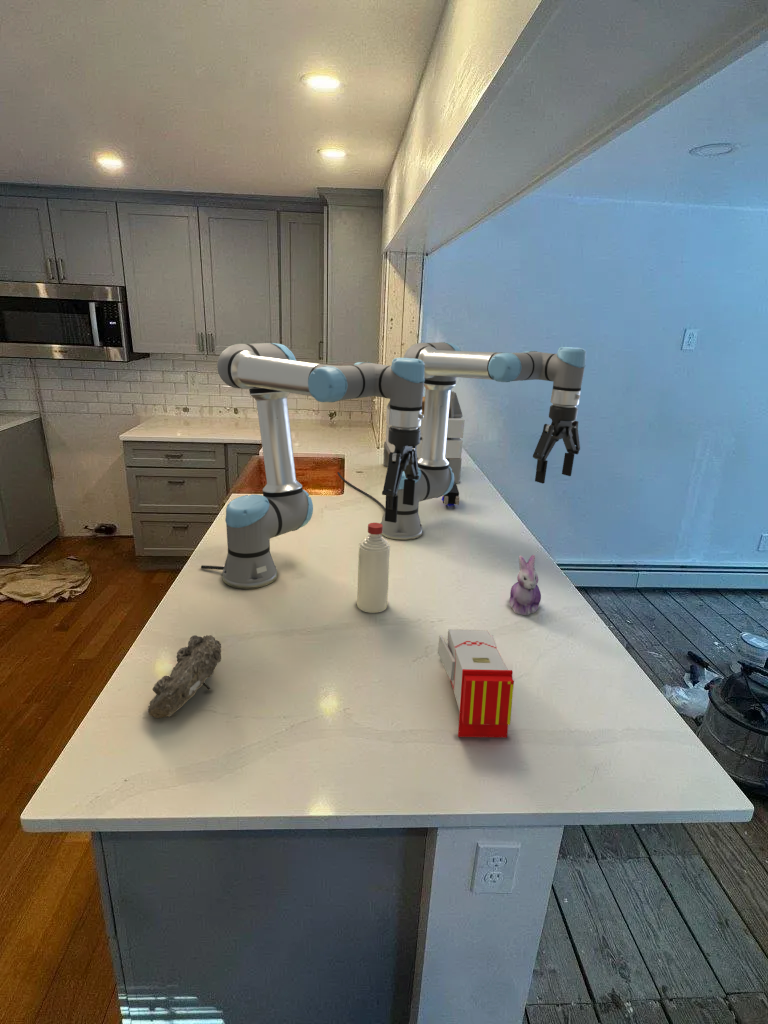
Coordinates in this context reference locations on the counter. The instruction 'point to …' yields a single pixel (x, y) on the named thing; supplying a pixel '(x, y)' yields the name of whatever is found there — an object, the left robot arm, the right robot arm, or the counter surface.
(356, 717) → the counter surface
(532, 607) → the figurine
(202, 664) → the fossil
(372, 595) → the bottle
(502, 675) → the toy
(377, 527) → the cap
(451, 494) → the figurine character
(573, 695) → the counter surface
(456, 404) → the white slatted crate
